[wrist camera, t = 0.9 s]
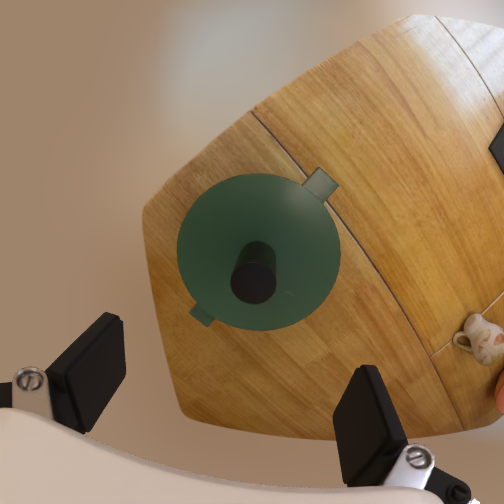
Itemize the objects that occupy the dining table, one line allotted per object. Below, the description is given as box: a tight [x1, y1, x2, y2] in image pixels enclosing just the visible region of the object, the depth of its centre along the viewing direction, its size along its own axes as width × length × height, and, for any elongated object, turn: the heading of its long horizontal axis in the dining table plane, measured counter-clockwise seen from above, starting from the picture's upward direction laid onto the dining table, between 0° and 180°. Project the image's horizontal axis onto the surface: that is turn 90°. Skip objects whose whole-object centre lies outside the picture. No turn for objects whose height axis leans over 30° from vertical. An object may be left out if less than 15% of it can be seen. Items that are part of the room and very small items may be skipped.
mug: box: [453, 314, 504, 366], centre depth 34 cm, size 8×10×10 cm
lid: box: [177, 173, 341, 331], centre depth 23 cm, size 15×15×7 cm
